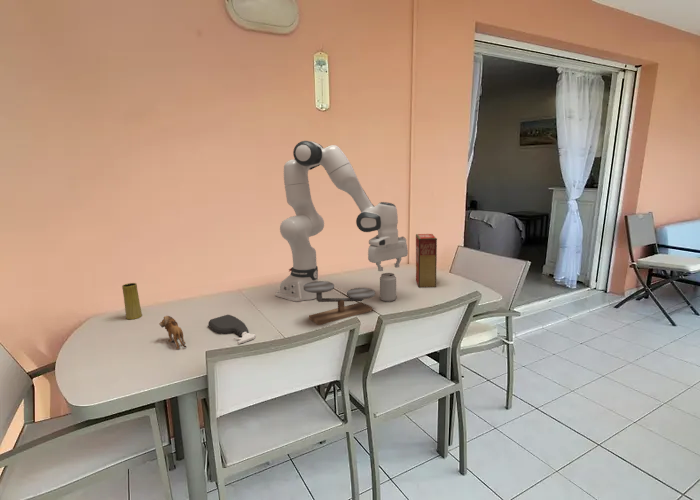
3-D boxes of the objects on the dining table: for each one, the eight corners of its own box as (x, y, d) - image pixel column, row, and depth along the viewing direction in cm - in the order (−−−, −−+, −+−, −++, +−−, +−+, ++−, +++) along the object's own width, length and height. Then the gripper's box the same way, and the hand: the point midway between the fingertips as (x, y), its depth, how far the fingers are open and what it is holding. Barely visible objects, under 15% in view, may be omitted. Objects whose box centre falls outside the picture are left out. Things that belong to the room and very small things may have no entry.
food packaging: (414, 279, 207) (415, 233, 201) (432, 279, 206) (433, 233, 201) (418, 287, 194) (418, 238, 188) (437, 287, 193) (438, 238, 188)
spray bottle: (231, 319, 160) (263, 338, 142) (205, 327, 153) (235, 348, 135) (231, 313, 159) (262, 331, 142) (205, 320, 152) (234, 340, 134)
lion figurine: (160, 340, 141) (156, 317, 140) (174, 335, 145) (171, 312, 144) (179, 351, 132) (176, 327, 130) (194, 346, 136) (191, 322, 134)
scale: (300, 319, 158) (298, 284, 154) (364, 302, 174) (363, 271, 171) (314, 328, 148) (312, 292, 145) (380, 310, 165) (380, 277, 162)
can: (395, 302, 174) (395, 276, 171) (378, 301, 175) (378, 276, 173) (396, 297, 181) (396, 272, 178) (380, 296, 182) (380, 271, 180)
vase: (124, 316, 165) (119, 284, 162) (140, 313, 169) (135, 281, 166) (127, 320, 160) (122, 288, 157) (143, 317, 164) (139, 284, 161)
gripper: (401, 235, 180) (401, 264, 183) (365, 241, 169) (366, 271, 172) (410, 236, 175) (410, 266, 178) (374, 243, 164) (375, 274, 167)
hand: (388, 269), depth 175 cm, fingers open, 8 cm apart
